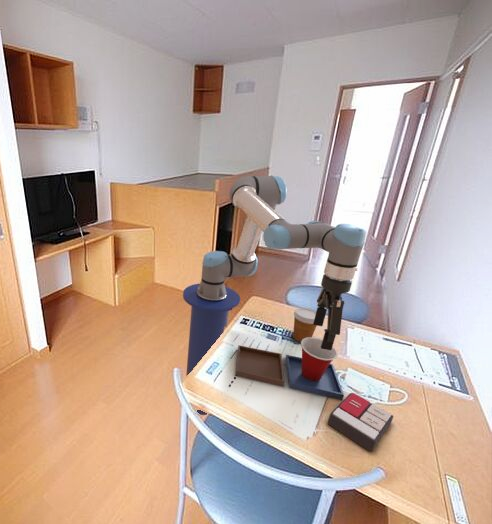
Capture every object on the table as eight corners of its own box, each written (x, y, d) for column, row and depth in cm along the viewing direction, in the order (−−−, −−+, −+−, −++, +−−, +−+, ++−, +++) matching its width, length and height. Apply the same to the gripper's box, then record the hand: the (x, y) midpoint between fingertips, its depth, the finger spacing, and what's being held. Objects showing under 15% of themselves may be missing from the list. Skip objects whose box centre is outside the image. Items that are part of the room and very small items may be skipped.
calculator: (395, 413, 86) (376, 440, 77) (390, 425, 87) (371, 452, 78) (351, 390, 94) (330, 411, 85) (348, 401, 95) (326, 423, 87)
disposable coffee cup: (283, 334, 128) (289, 309, 124) (302, 330, 131) (307, 306, 126) (301, 347, 120) (307, 321, 115) (320, 343, 122) (326, 317, 118)
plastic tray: (285, 359, 113) (286, 354, 112) (331, 368, 108) (332, 363, 108) (289, 388, 100) (290, 382, 99) (342, 400, 95) (344, 394, 94)
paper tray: (237, 349, 118) (238, 345, 117) (279, 358, 113) (280, 353, 113) (235, 375, 105) (236, 370, 104) (283, 386, 100) (284, 381, 99)
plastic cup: (310, 390, 98) (318, 360, 93) (287, 368, 107) (293, 339, 103) (337, 384, 100) (346, 354, 96) (312, 363, 110) (319, 335, 106)
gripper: (366, 297, 78) (344, 363, 86) (341, 263, 100) (326, 318, 108) (333, 292, 80) (315, 357, 88) (316, 260, 102) (303, 314, 110)
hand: (321, 336), depth 98 cm, fingers open, 13 cm apart
